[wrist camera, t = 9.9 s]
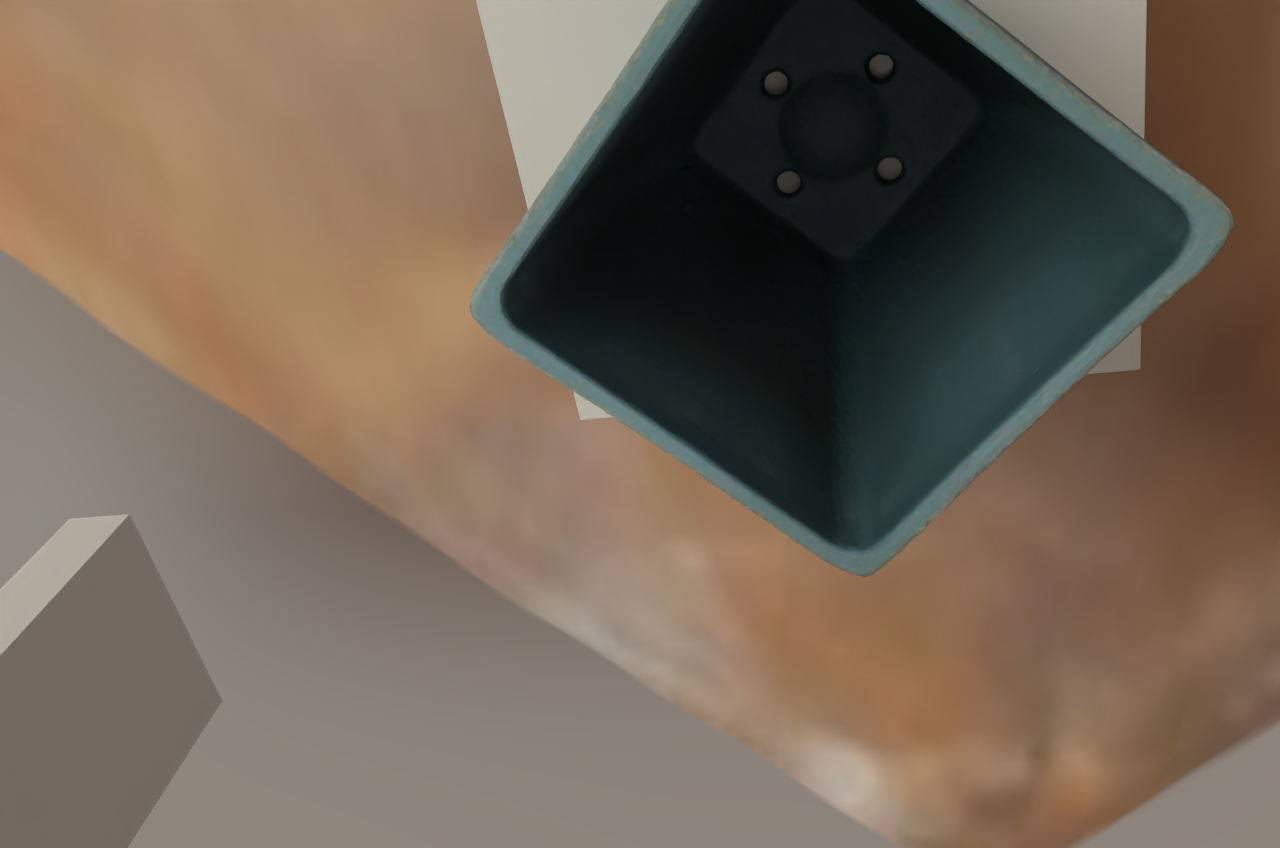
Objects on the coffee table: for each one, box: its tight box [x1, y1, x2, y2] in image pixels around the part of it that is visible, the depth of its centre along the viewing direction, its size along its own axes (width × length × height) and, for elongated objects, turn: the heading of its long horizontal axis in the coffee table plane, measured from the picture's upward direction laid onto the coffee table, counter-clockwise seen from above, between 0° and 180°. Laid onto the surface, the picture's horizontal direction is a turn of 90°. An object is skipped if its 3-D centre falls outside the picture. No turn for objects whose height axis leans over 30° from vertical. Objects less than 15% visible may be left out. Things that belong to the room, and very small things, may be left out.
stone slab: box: [476, 0, 1147, 420], centre depth 28 cm, size 14×14×6 cm
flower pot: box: [470, 0, 1234, 577], centre depth 22 cm, size 9×9×9 cm
